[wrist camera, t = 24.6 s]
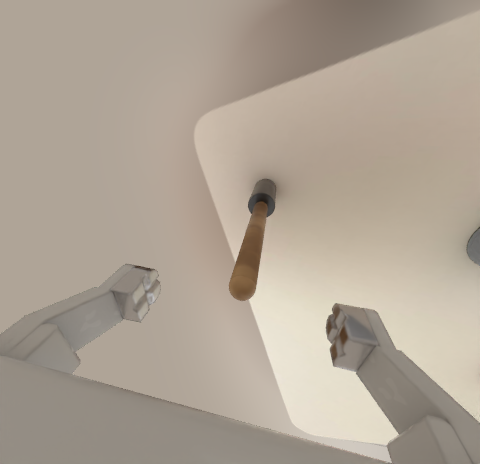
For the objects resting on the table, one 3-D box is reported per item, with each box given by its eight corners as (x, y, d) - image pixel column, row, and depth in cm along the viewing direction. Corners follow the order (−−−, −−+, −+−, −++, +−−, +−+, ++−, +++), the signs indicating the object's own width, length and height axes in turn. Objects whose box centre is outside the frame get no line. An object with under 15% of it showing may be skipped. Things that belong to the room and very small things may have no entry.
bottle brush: (253, 198, 26) (212, 310, 10) (255, 177, 25) (212, 269, 9) (274, 201, 26) (264, 321, 10) (277, 180, 24) (273, 280, 9)
